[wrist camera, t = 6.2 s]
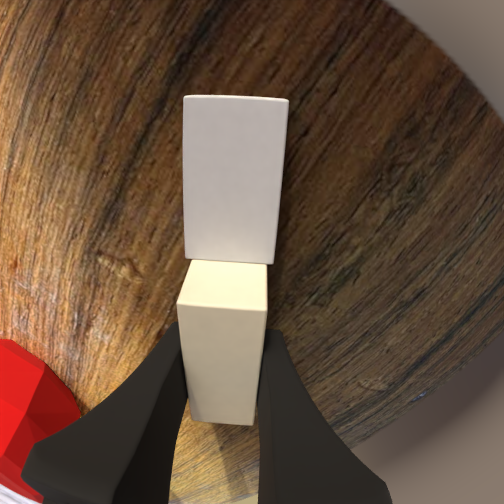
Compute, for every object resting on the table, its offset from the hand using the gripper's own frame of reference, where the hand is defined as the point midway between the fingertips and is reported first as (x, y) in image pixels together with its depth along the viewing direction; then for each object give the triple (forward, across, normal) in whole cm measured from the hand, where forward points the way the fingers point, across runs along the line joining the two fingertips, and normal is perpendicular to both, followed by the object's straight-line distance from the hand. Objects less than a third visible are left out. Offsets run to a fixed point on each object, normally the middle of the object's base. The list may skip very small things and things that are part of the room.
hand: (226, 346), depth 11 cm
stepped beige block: (+1, 0, -3) cm, 3 cm away
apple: (+2, +13, +7) cm, 15 cm away
